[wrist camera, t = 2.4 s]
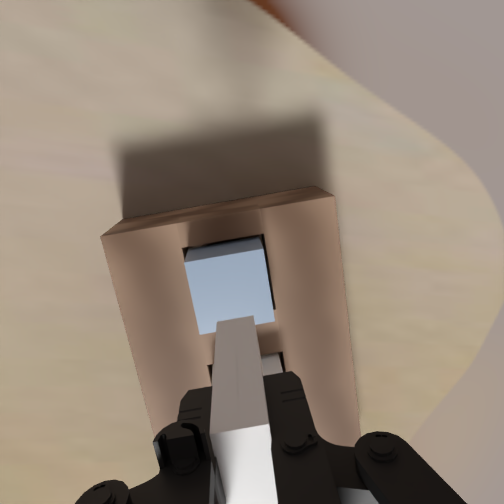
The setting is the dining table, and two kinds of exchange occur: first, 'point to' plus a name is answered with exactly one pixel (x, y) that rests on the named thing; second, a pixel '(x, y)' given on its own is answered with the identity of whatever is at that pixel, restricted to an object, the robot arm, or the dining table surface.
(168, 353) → the key panel
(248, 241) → the slate blue key
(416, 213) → the dining table surface
